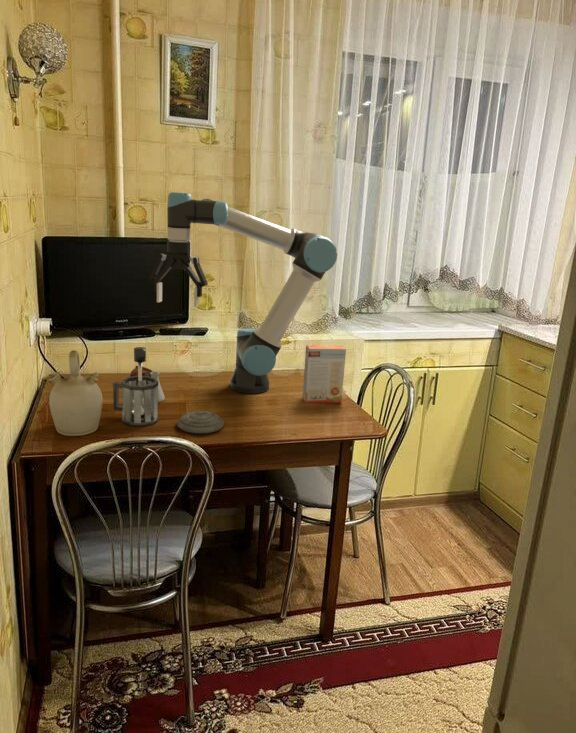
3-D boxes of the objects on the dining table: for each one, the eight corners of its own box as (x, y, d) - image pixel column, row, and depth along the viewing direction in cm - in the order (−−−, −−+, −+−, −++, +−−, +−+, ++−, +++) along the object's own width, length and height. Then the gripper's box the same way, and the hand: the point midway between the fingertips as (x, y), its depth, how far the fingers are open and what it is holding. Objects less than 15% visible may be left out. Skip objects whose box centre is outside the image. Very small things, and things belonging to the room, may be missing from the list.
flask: (149, 395, 219) (149, 368, 216) (168, 397, 218) (168, 371, 215) (140, 401, 212) (140, 374, 209) (160, 404, 211) (160, 377, 208)
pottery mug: (122, 384, 230) (129, 363, 231) (144, 392, 235) (151, 372, 236) (133, 385, 220) (141, 364, 221) (156, 394, 225) (164, 373, 227)
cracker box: (337, 397, 230) (343, 344, 224) (341, 403, 224) (347, 349, 218) (301, 397, 227) (305, 343, 221) (304, 403, 222) (309, 348, 216)
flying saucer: (174, 420, 199) (174, 404, 197) (219, 417, 203) (219, 402, 201) (179, 438, 185) (179, 421, 183) (227, 435, 189) (228, 419, 188)
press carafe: (164, 416, 200) (164, 378, 197) (148, 428, 190) (148, 389, 186) (123, 409, 204) (123, 372, 200) (105, 421, 193) (105, 382, 189)
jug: (41, 436, 179) (37, 355, 172) (63, 417, 194) (59, 342, 186) (92, 441, 178) (90, 360, 171) (110, 421, 193) (108, 346, 186)
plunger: (157, 408, 198) (158, 347, 192) (146, 417, 191) (146, 353, 185) (134, 404, 200) (134, 343, 194) (121, 413, 192) (121, 350, 186)
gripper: (218, 243, 201) (216, 306, 207) (149, 236, 206) (149, 298, 212) (210, 245, 194) (208, 309, 200) (138, 238, 199) (139, 301, 205)
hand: (177, 304), depth 206 cm, fingers open, 13 cm apart
